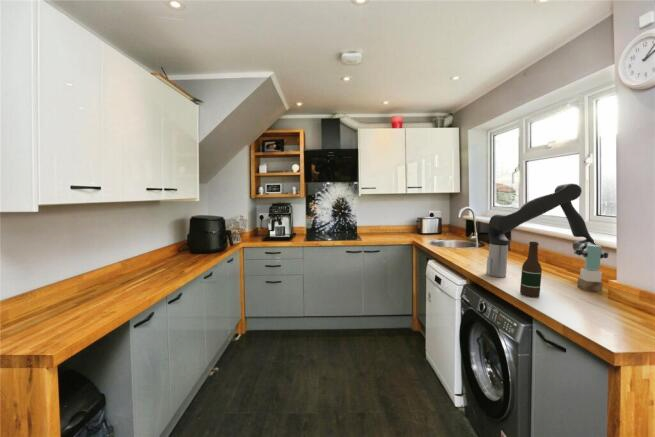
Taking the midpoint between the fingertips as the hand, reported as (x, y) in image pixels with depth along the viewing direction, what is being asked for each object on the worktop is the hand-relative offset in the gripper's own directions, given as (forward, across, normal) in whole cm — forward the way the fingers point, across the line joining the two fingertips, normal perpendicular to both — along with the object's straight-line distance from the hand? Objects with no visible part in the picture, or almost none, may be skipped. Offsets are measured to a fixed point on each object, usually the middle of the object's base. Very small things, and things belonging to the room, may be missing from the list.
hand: (594, 255), depth 160 cm
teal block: (-3, 0, +7) cm, 7 cm away
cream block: (-3, 0, +12) cm, 13 cm away
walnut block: (-3, 0, +17) cm, 18 cm away
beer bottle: (+26, -25, +17) cm, 40 cm away
